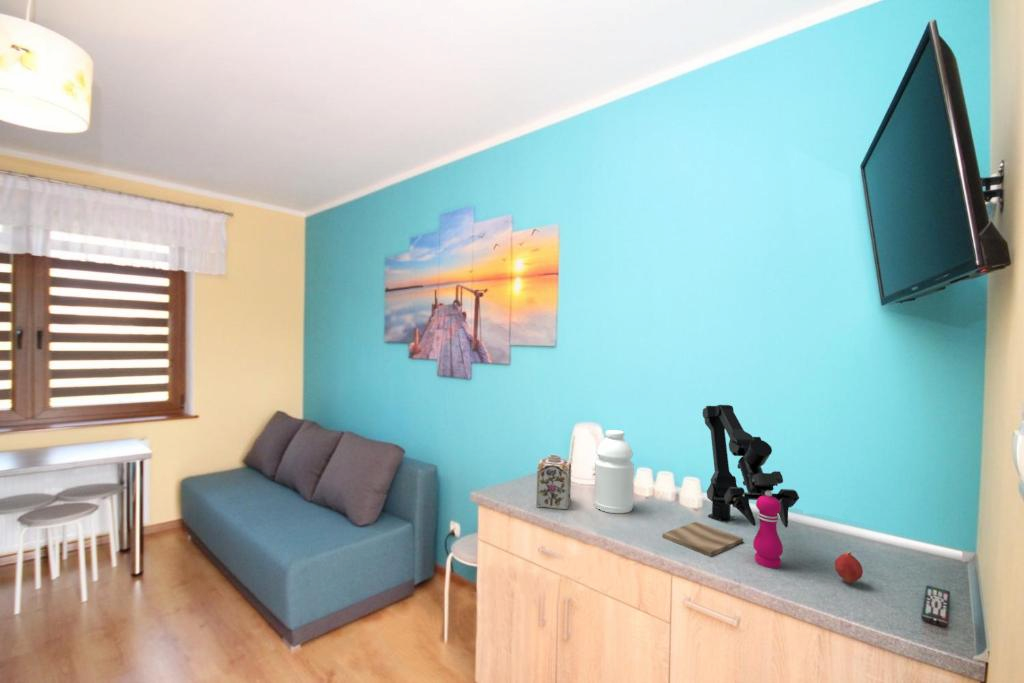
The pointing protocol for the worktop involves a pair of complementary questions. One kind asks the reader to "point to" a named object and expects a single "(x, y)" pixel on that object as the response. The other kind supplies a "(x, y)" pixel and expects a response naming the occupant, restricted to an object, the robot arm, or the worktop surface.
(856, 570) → the onion
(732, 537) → the tan cloth
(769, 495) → the pepper mill
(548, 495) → the decorative jar
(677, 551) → the worktop surface
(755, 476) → the robot arm
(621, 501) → the bottle
